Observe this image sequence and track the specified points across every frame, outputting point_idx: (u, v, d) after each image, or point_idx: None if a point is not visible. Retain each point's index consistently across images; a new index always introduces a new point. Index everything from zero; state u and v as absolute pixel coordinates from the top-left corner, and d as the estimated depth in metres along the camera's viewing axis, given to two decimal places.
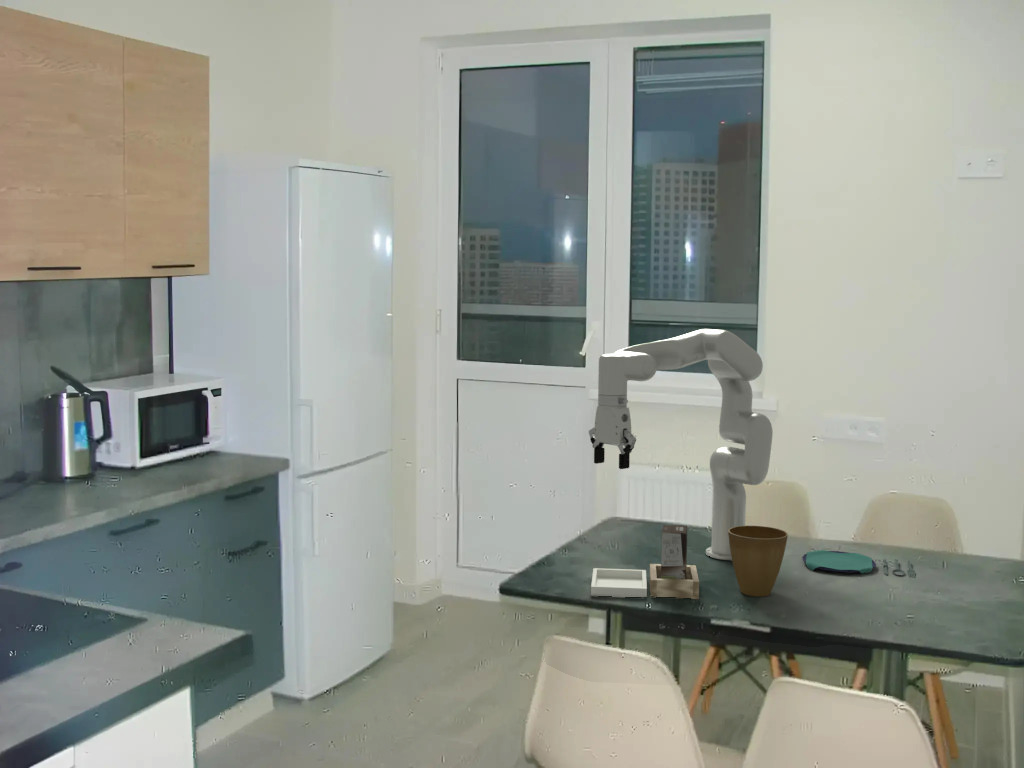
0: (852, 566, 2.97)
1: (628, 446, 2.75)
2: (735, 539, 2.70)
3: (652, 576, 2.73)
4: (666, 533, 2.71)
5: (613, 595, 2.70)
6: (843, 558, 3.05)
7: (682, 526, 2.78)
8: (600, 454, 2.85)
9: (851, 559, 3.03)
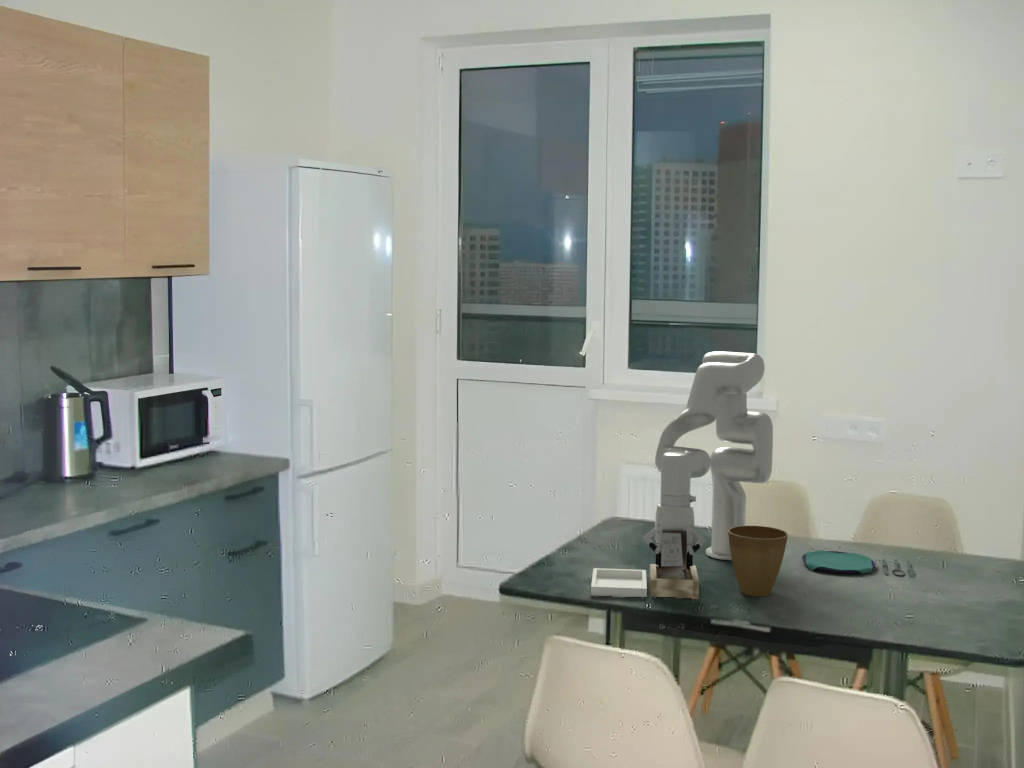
0: (852, 566, 2.96)
1: (698, 546, 2.74)
2: (735, 539, 2.70)
3: (652, 576, 2.73)
4: (666, 533, 2.71)
5: (613, 595, 2.70)
6: (843, 558, 3.05)
7: None
8: None
9: (850, 559, 3.03)
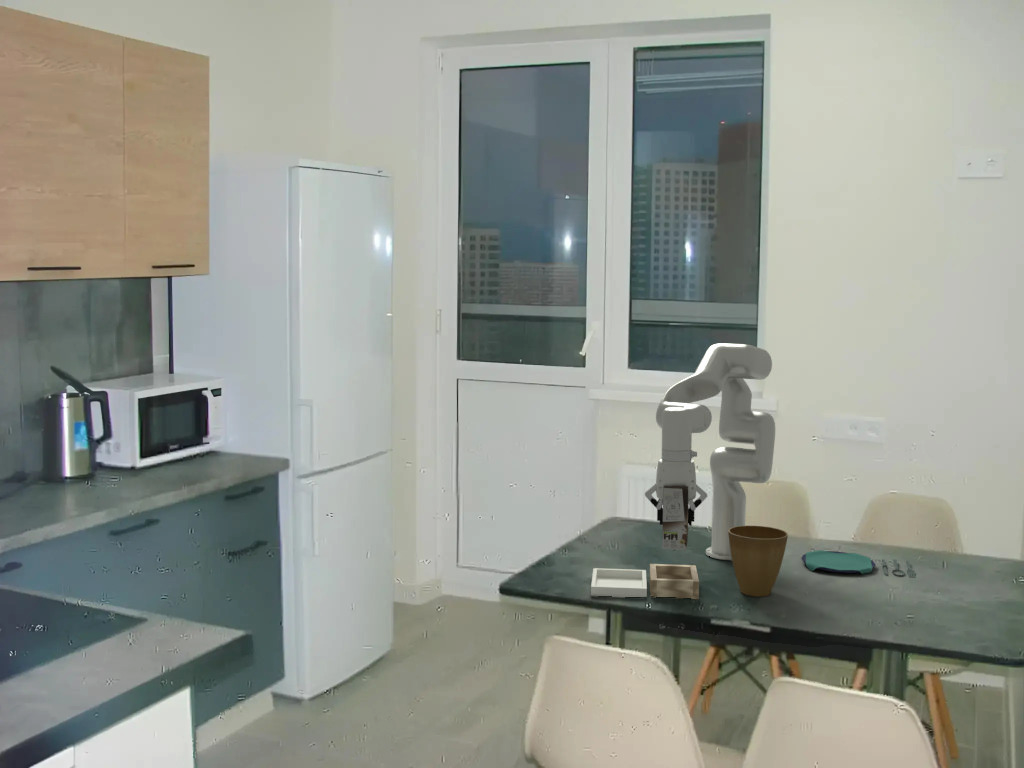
0: (852, 566, 2.96)
1: (700, 501, 2.73)
2: (735, 539, 2.70)
3: (652, 576, 2.73)
4: (667, 488, 2.70)
5: (613, 595, 2.70)
6: (842, 558, 3.04)
7: None
8: None
9: (850, 559, 3.03)
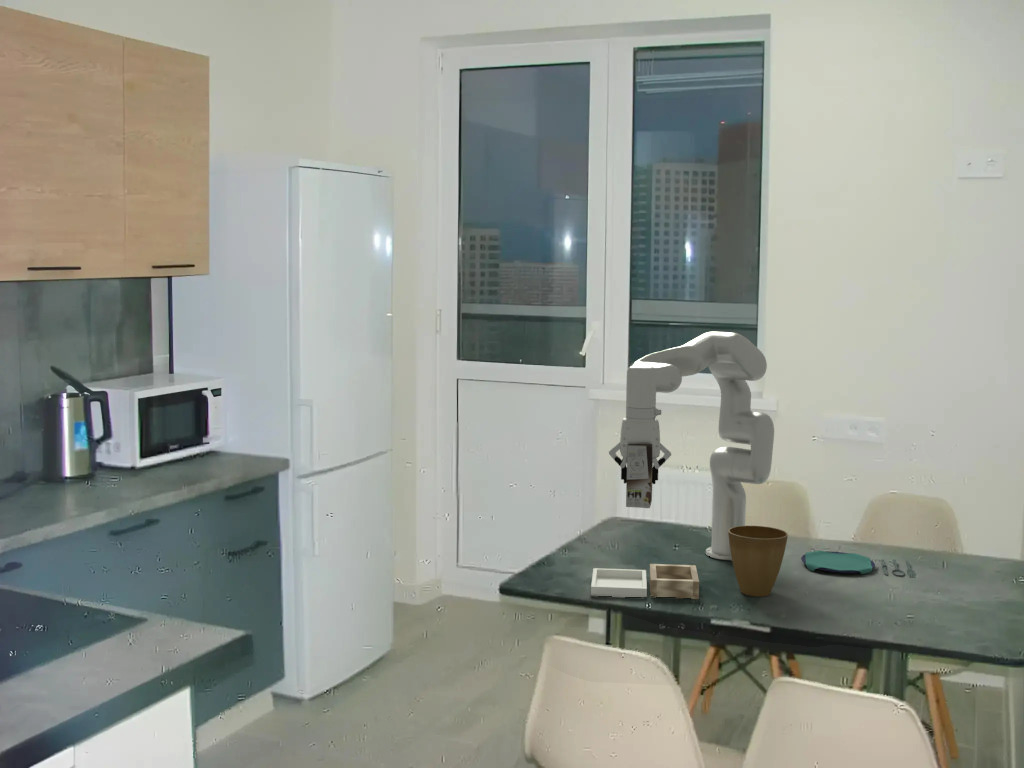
0: (852, 566, 2.96)
1: (664, 460, 2.73)
2: (735, 539, 2.70)
3: (652, 576, 2.73)
4: (631, 446, 2.70)
5: (613, 595, 2.70)
6: (842, 558, 3.04)
7: None
8: None
9: (850, 559, 3.03)
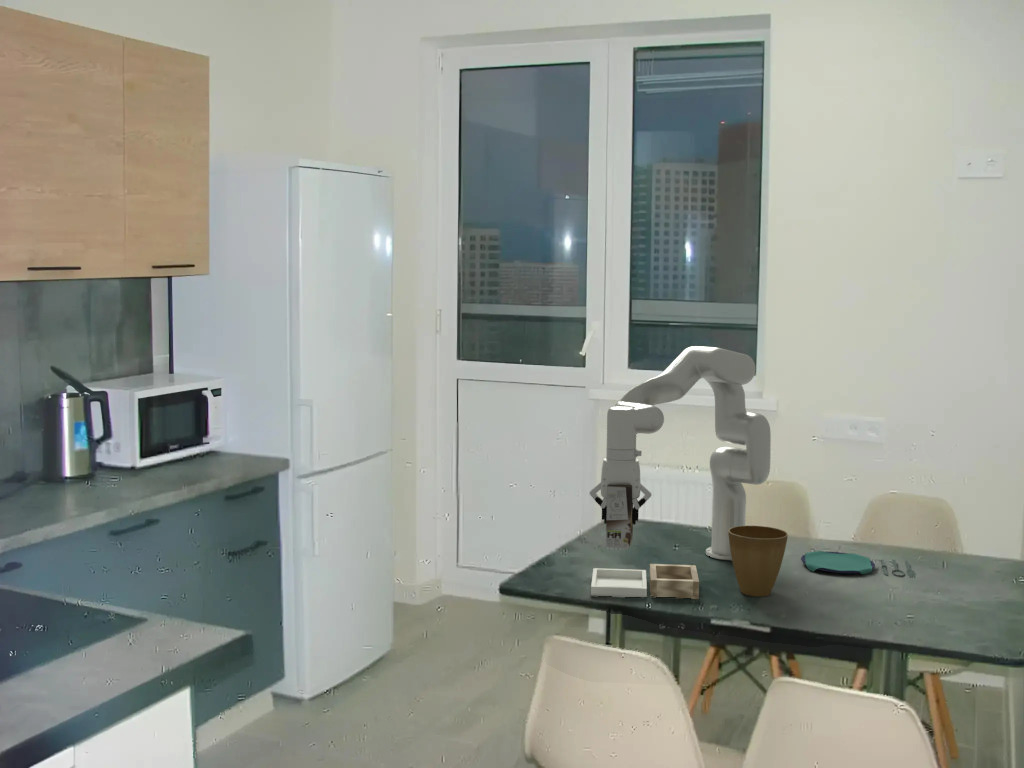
0: (851, 567, 2.96)
1: (644, 500, 2.74)
2: (735, 539, 2.70)
3: (652, 576, 2.73)
4: (611, 487, 2.72)
5: (613, 595, 2.70)
6: (841, 558, 3.04)
7: None
8: None
9: (849, 560, 3.03)
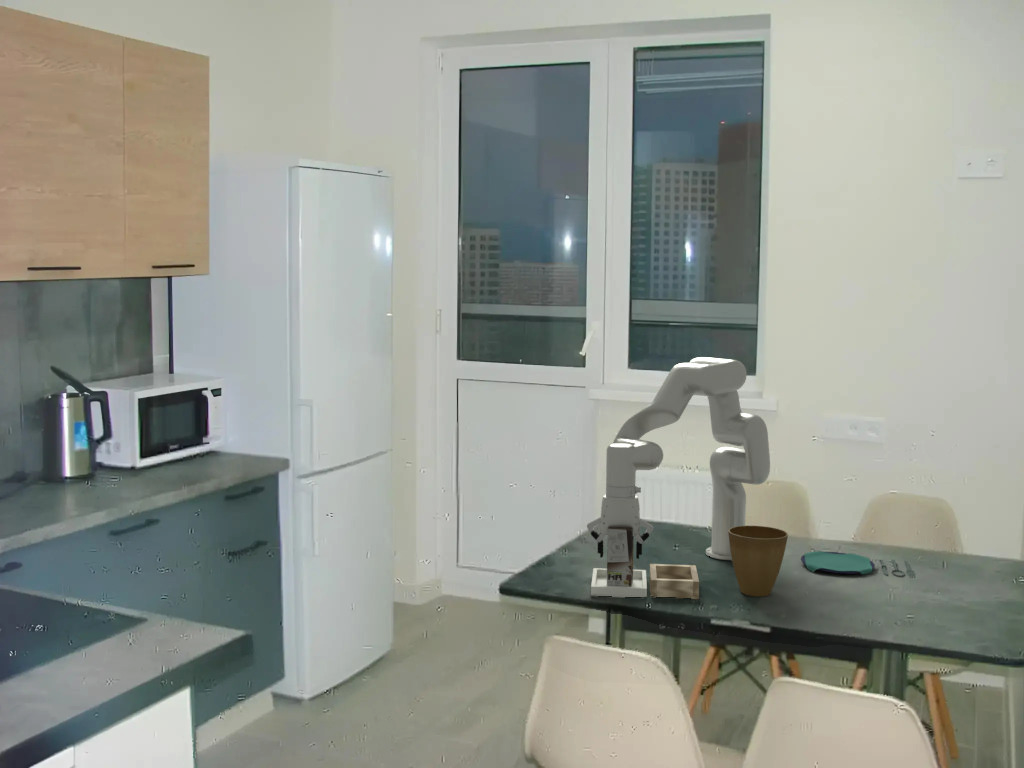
0: (851, 567, 2.96)
1: (647, 535, 2.75)
2: (735, 539, 2.70)
3: (652, 576, 2.73)
4: (612, 529, 2.73)
5: (613, 595, 2.70)
6: (841, 558, 3.04)
7: None
8: None
9: (849, 560, 3.03)
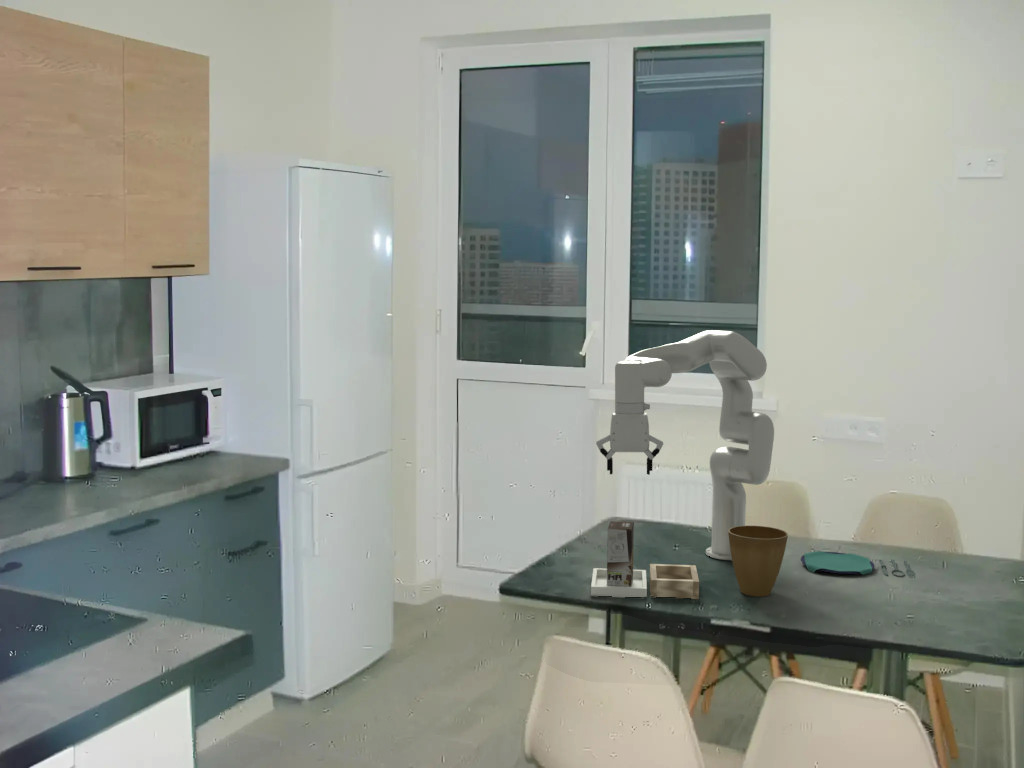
0: (851, 567, 2.96)
1: (658, 450, 2.77)
2: (735, 539, 2.70)
3: (652, 576, 2.73)
4: (612, 529, 2.73)
5: (613, 595, 2.70)
6: (840, 559, 3.04)
7: (629, 522, 2.80)
8: None
9: (848, 560, 3.02)
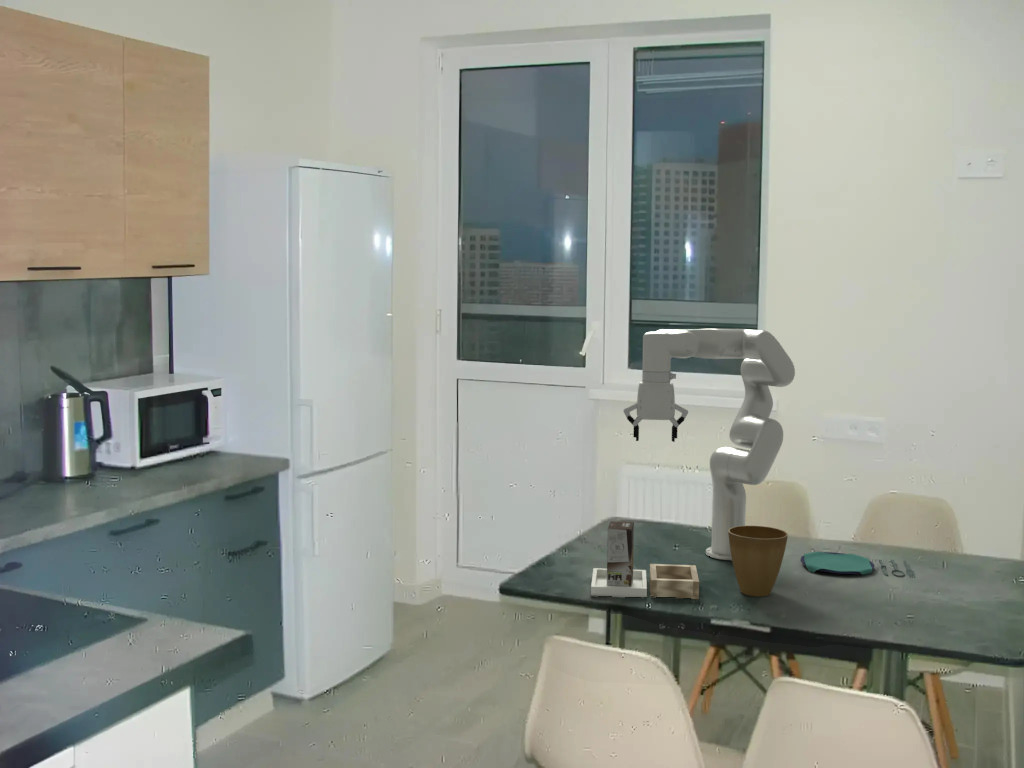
0: (851, 567, 2.95)
1: (683, 418, 2.87)
2: (735, 539, 2.70)
3: (652, 576, 2.73)
4: (612, 529, 2.73)
5: (613, 595, 2.70)
6: (840, 559, 3.04)
7: (629, 522, 2.80)
8: None
9: (848, 560, 3.02)
